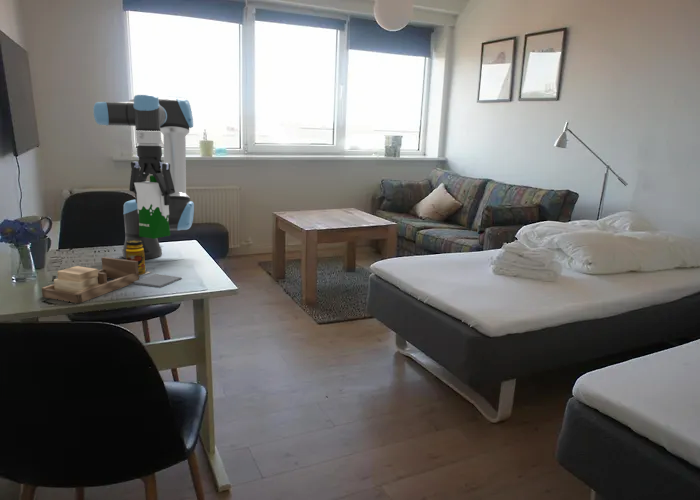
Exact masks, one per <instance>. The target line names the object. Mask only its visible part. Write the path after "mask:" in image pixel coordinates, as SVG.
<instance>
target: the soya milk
mask: <svg viewBox="0 0 700 500" xmlns="http://www.w3.org/2000/svg"><path fill="white" fill-rule="evenodd" d="M134 185H135V188H136V192H137V197H138V210H139V237H146V238H152V239H155V238H157V239H160V238H164V237H165V238H166V237H169V236H171V230H170V228H169V219H168V215H165V216H162V210H161V196H162V192H161V190H160V187H159V184H158V183H157V181H156V179H155V177H154V176H153V175H152V174H150V175H149V181H147V180H146V182H137V183H134Z"/></svg>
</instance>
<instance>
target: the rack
mask: <svg viewBox="0 0 700 500" xmlns="http://www.w3.org/2000/svg"><path fill="white" fill-rule="evenodd" d="M101 267H102V268H101V269H98V284H100V285H97V286H94V287H91V288H88V289H86V290H83V291H80V292H77V293H72V292H65V291H59V290H55V288H54V283H52V284H50V285H47V286H43V287H41V294H42V298H46V299H50V300H51V299H52V300H57V299H58V300H57V301H63V300H64V301H63V302H69V301H70V303H74V304H75V303H76V304H80V303H83V302H86V301H89V300H93V299H94V298H97V297H100V296H103V295H106V294H108V293H111V292H115V291H116V290H119V289H121V288H125V287H127V286H130V285H132V284H133V282H134V281H137V280H140V276H139V272H138V261H131V260H126V259H124V258H113V257H106V256H103V257H101ZM108 279H111V280H109V281H108Z"/></svg>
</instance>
